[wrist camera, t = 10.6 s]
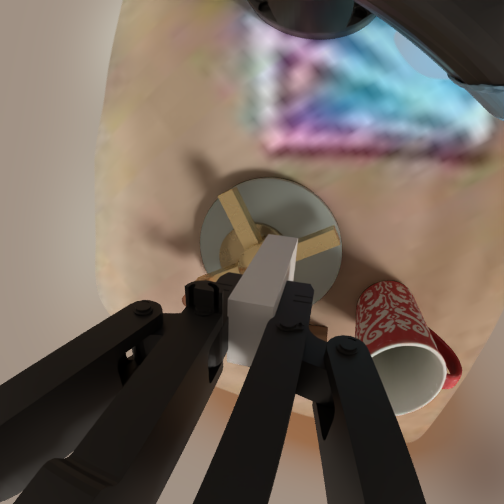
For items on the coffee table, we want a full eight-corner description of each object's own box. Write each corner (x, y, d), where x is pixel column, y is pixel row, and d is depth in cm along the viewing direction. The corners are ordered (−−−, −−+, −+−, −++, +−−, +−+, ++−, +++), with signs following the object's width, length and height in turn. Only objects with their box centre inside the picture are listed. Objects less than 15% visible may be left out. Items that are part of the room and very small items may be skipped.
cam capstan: (305, 154, 31) (298, 160, 25) (362, 290, 35) (366, 323, 29) (174, 216, 37) (144, 234, 31) (236, 329, 41) (220, 363, 35)
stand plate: (205, 171, 36) (200, 173, 34) (351, 186, 33) (351, 189, 31) (205, 297, 42) (200, 302, 40) (329, 317, 39) (329, 324, 37)
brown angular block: (265, 317, 41) (256, 340, 36) (327, 327, 39) (325, 352, 35) (262, 344, 42) (254, 368, 38) (322, 353, 41) (319, 379, 36)
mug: (336, 325, 39) (332, 404, 27) (366, 262, 35) (379, 330, 23) (420, 352, 37) (439, 429, 25) (454, 296, 34) (493, 365, 22)
